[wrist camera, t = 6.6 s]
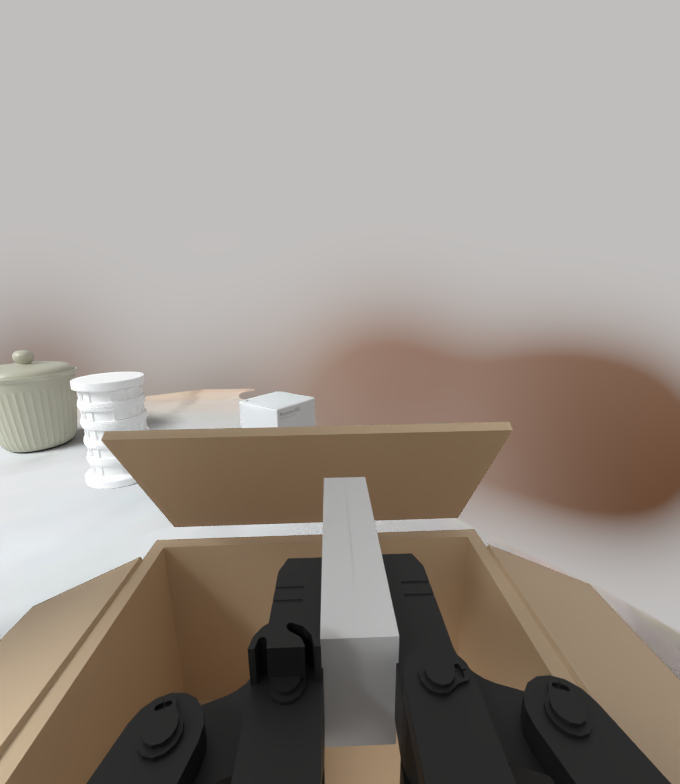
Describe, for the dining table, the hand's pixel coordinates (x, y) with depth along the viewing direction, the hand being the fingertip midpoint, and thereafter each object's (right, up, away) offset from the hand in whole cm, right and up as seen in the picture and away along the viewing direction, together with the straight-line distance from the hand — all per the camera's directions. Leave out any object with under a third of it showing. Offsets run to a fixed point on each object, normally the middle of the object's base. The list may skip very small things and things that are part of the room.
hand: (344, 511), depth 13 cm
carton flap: (-2, -5, +12) cm, 13 cm away
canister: (-67, -7, +68) cm, 96 cm away
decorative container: (-40, -11, +53) cm, 67 cm away
